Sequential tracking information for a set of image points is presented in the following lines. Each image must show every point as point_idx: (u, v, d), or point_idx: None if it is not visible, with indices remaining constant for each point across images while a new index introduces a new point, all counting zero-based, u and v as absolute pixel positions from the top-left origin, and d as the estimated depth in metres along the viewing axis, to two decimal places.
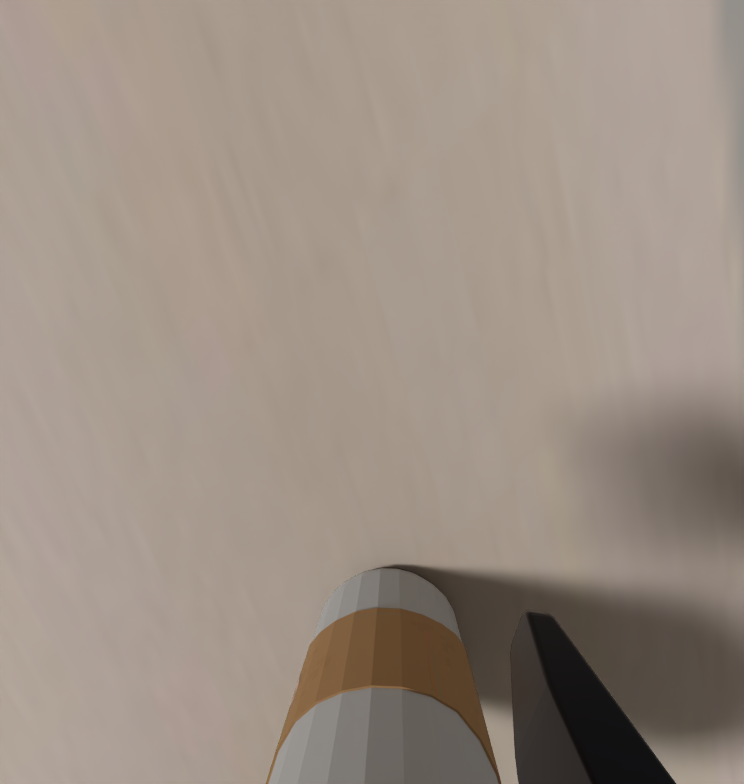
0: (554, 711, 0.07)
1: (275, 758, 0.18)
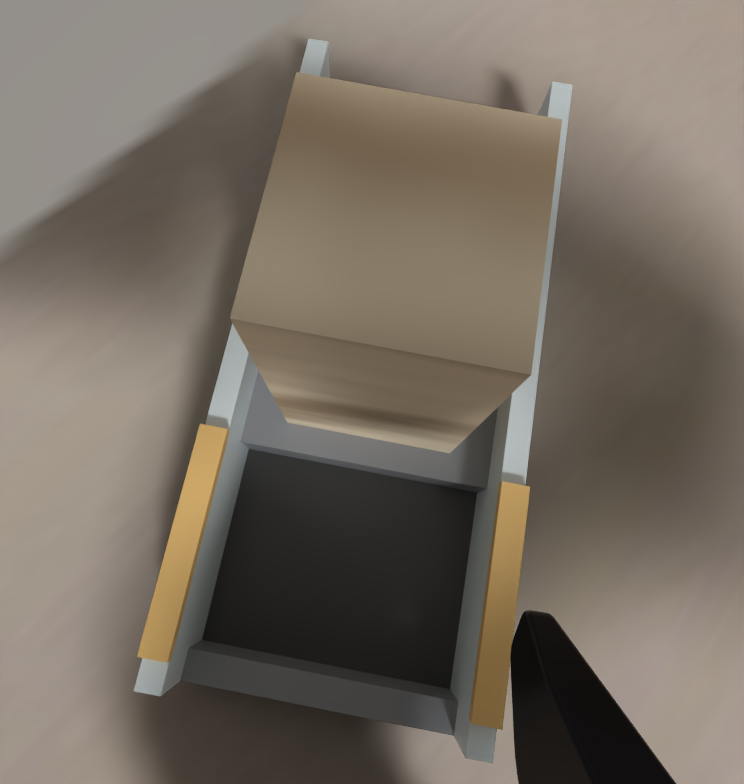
0: (554, 711, 0.07)
1: None
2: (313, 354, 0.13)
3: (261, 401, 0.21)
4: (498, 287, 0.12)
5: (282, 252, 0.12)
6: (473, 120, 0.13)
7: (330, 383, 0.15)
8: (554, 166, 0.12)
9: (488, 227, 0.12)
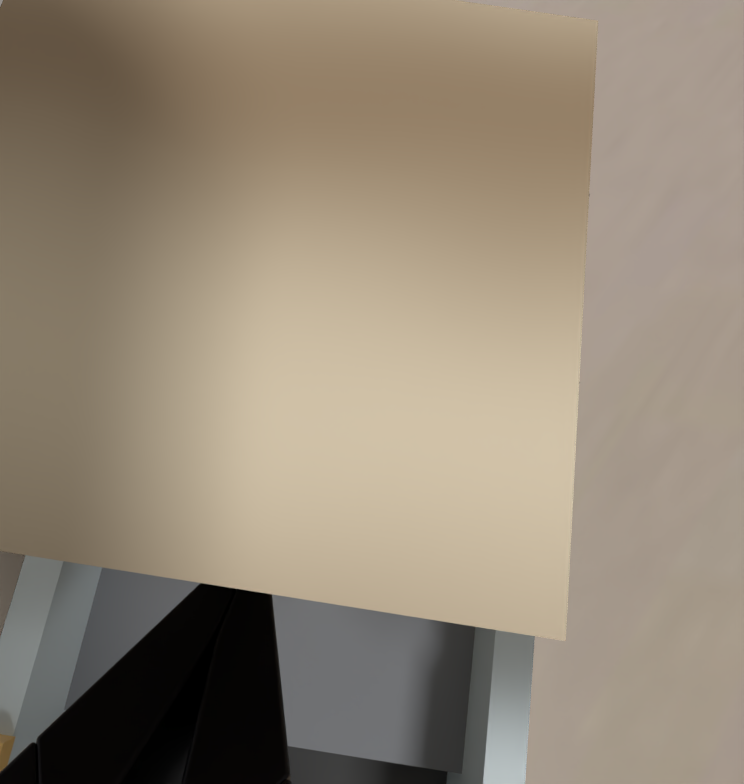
0: None
1: None
2: None
3: (100, 637, 0.13)
4: (474, 404, 0.05)
5: None
6: (409, 26, 0.06)
7: None
8: (588, 117, 0.06)
9: (444, 258, 0.05)
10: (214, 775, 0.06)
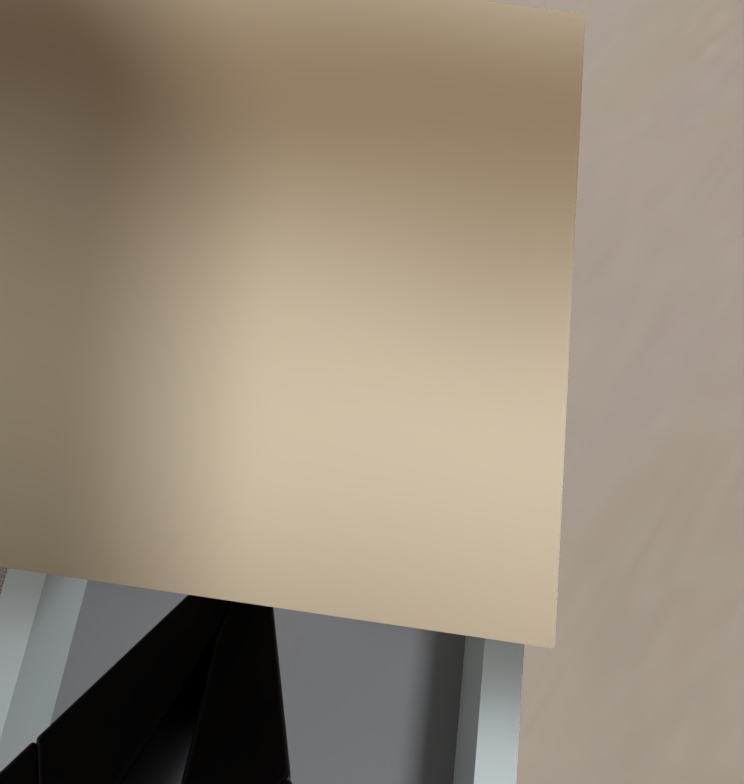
0: None
1: None
2: None
3: None
4: (460, 406, 0.05)
5: None
6: (393, 21, 0.06)
7: None
8: (576, 113, 0.06)
9: (430, 258, 0.05)
10: (214, 775, 0.06)
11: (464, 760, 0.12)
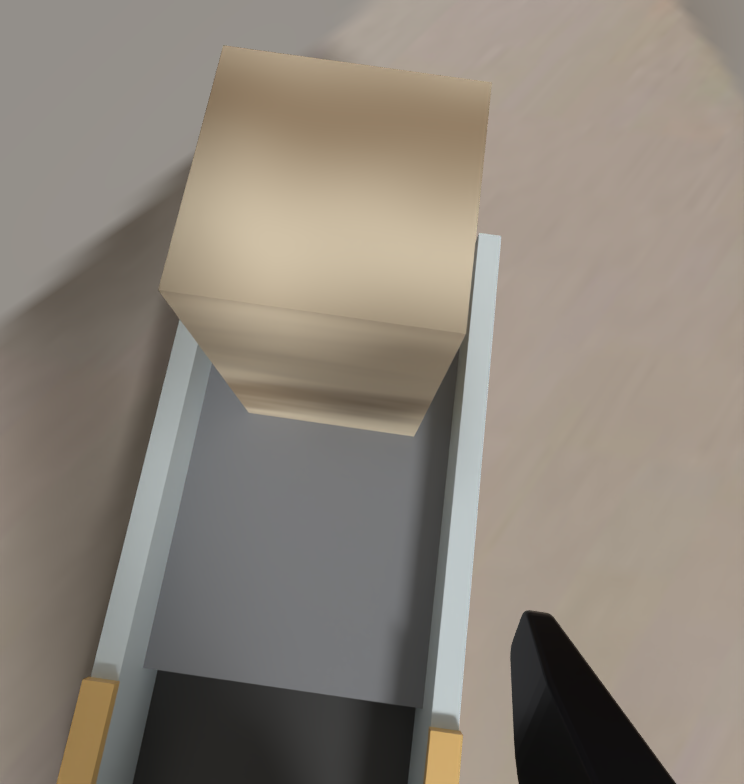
0: (554, 711, 0.07)
1: None
2: (250, 326, 0.12)
3: (166, 617, 0.19)
4: (431, 248, 0.12)
5: (211, 222, 0.12)
6: (403, 86, 0.13)
7: (276, 361, 0.14)
8: (485, 128, 0.12)
9: (419, 190, 0.12)
10: None
11: (444, 535, 0.19)
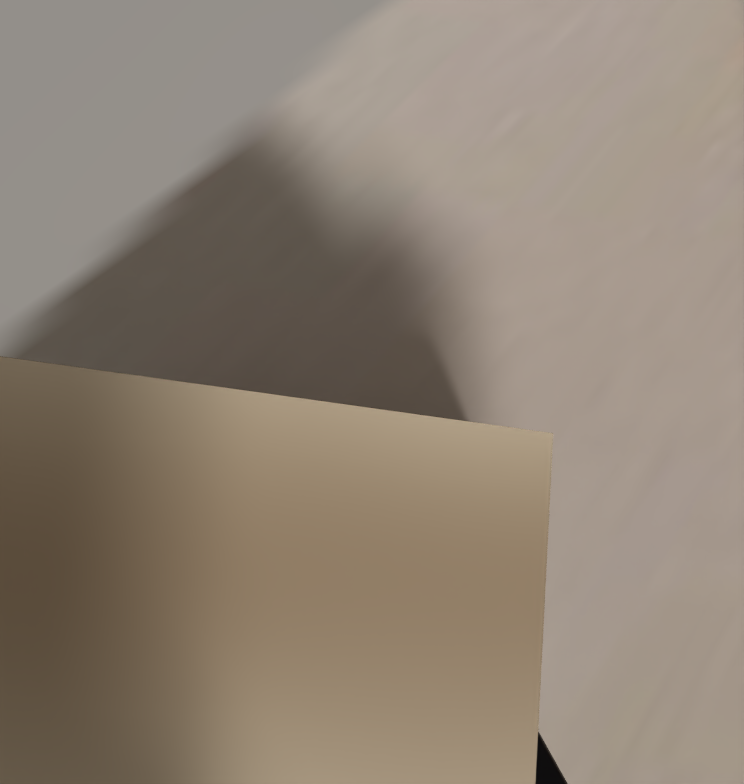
0: None
1: None
2: None
3: None
4: None
5: None
6: (304, 452, 0.04)
7: None
8: (539, 597, 0.04)
9: None
10: None
11: None
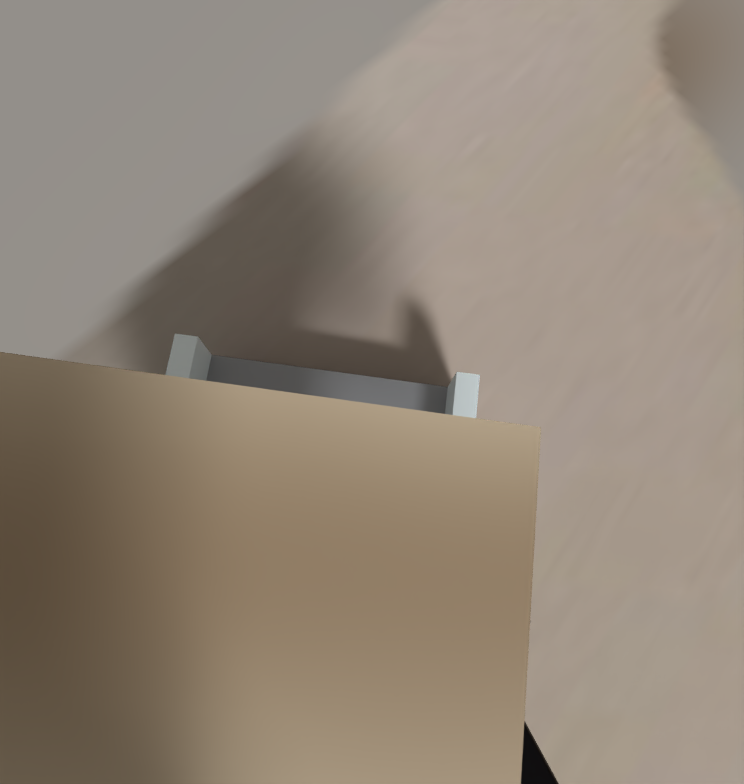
0: None
1: None
2: None
3: None
4: None
5: None
6: (293, 446, 0.04)
7: None
8: (526, 591, 0.04)
9: None
10: None
11: None
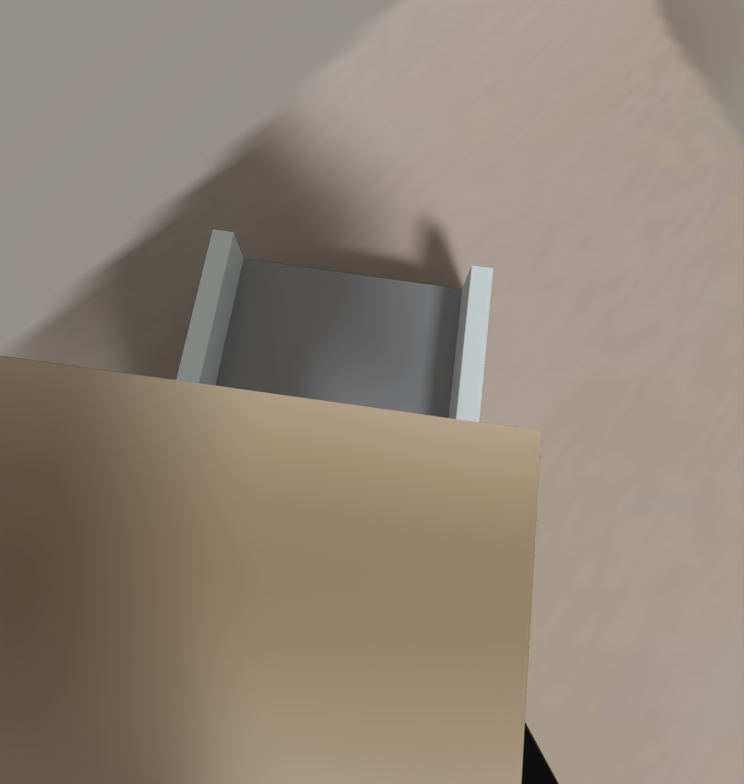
0: None
1: None
2: None
3: None
4: None
5: None
6: (291, 450, 0.04)
7: None
8: (526, 595, 0.04)
9: None
10: None
11: None
